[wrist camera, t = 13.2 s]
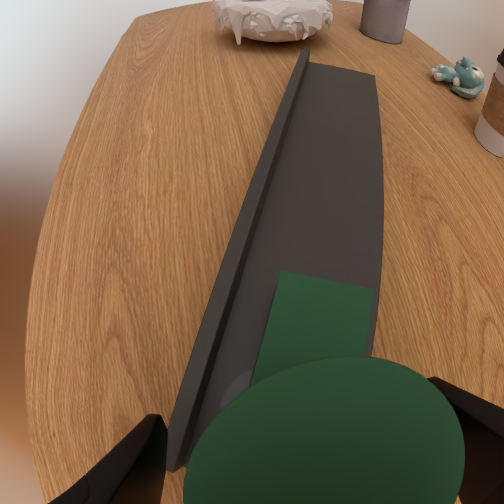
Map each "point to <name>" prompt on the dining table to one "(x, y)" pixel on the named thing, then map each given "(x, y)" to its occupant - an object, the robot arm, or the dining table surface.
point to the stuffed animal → (461, 77)
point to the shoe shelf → (290, 234)
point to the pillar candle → (385, 19)
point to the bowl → (272, 18)
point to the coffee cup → (493, 114)
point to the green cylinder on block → (327, 415)
